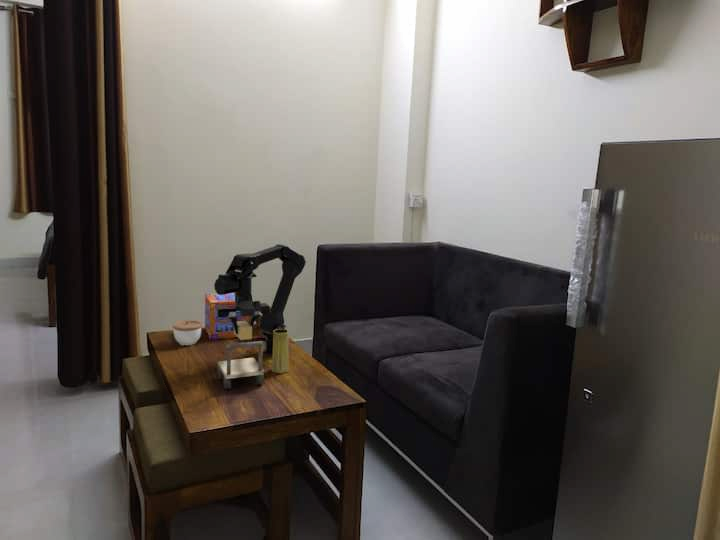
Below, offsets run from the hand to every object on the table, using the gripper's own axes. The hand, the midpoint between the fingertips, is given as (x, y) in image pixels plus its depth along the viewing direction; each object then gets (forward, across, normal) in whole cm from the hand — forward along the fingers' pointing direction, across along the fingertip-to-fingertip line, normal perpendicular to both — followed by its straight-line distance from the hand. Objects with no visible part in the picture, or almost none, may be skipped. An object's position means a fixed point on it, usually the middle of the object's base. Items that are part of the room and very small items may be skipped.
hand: (242, 333), depth 191 cm
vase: (+11, +10, -12) cm, 19 cm away
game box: (+11, +2, +37) cm, 39 cm away
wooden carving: (+11, +16, +25) cm, 32 cm away
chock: (+1, 0, 0) cm, 1 cm away
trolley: (+11, -5, -17) cm, 21 cm away
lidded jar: (+11, -15, +28) cm, 34 cm away
